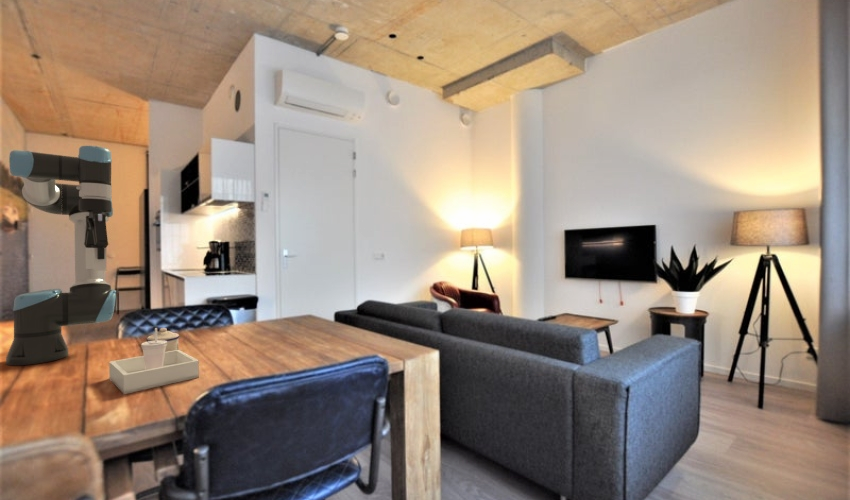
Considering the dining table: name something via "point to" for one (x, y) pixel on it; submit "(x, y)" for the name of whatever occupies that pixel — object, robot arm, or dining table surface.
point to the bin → (152, 372)
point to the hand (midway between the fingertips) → (95, 269)
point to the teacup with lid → (166, 339)
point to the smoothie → (154, 352)
